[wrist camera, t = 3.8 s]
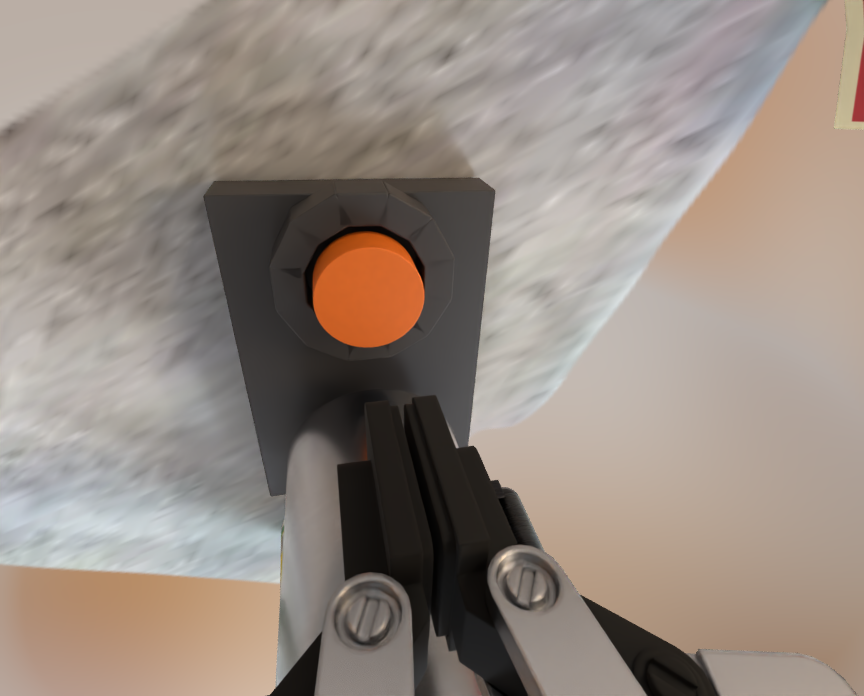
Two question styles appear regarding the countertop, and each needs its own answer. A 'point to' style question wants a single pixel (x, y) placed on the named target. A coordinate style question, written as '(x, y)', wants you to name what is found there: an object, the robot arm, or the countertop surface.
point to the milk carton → (852, 70)
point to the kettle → (322, 538)
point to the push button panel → (293, 295)
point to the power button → (366, 289)
